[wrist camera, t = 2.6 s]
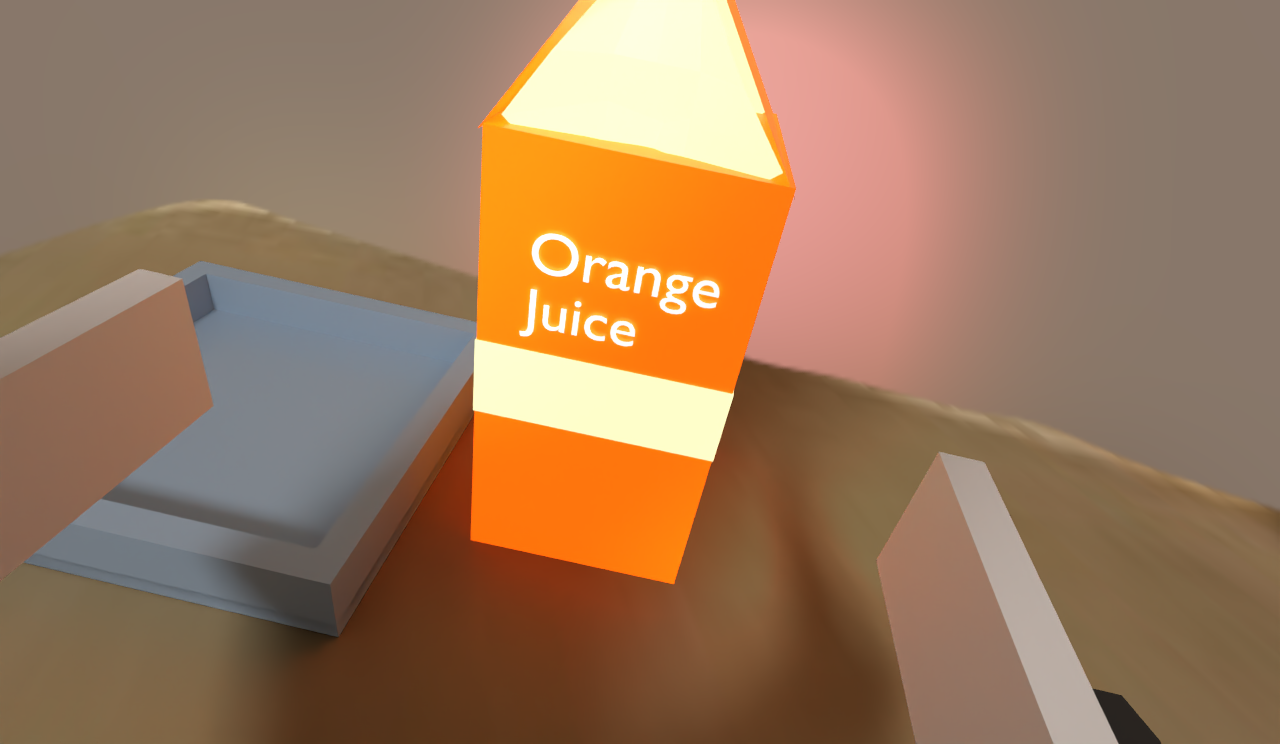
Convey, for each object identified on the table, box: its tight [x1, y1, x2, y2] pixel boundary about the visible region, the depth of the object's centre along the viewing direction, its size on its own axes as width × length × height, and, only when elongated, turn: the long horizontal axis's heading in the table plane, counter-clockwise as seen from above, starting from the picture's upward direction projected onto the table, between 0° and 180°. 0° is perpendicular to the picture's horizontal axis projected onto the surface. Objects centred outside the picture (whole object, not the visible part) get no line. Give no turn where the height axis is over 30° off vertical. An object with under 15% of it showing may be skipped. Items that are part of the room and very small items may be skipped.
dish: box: [24, 261, 477, 637], centre depth 25 cm, size 15×15×2 cm
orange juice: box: [471, 0, 796, 584], centre depth 21 cm, size 8×9×20 cm
